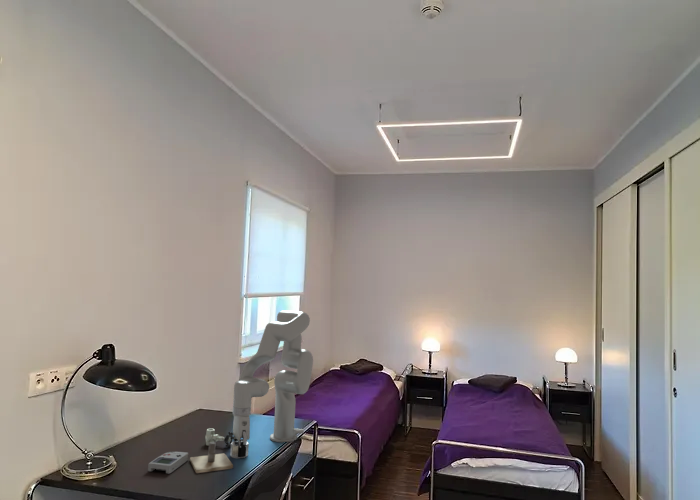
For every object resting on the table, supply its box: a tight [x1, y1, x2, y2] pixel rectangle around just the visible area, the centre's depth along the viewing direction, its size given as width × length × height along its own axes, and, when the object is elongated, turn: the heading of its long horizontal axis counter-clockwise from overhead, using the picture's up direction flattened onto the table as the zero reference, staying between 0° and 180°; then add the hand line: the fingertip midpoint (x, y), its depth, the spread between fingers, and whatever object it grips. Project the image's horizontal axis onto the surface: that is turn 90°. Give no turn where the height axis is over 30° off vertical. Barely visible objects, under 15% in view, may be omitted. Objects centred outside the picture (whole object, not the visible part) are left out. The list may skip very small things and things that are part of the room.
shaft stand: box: [189, 441, 234, 474], centre depth 194 cm, size 14×14×8 cm
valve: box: [204, 427, 234, 448], centre depth 216 cm, size 7×7×12 cm
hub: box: [229, 440, 250, 459], centre depth 205 cm, size 7×7×5 cm
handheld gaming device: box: [147, 451, 189, 475], centre depth 190 cm, size 9×15×4 cm, turn 171°
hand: (239, 453), depth 205 cm, fingers closed on hub, 7 cm apart
